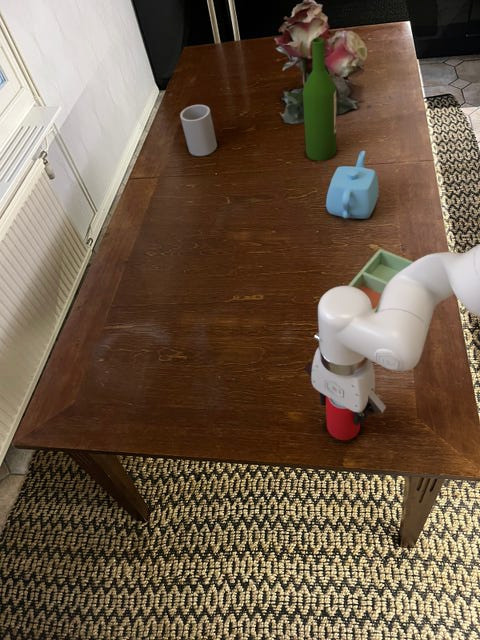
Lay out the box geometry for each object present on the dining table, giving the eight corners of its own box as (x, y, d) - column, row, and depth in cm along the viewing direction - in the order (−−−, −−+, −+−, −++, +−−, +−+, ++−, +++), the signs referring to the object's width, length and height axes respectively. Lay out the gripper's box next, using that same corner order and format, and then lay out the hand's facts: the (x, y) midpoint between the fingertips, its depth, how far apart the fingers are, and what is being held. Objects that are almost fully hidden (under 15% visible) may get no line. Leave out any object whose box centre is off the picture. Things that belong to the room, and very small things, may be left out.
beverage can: (360, 414, 102) (362, 381, 93) (359, 443, 99) (361, 412, 89) (327, 411, 104) (326, 378, 94) (325, 440, 100) (324, 409, 91)
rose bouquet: (373, 107, 169) (378, 5, 146) (285, 128, 169) (276, 30, 146) (348, 71, 185) (349, -25, 162) (267, 90, 185) (257, -3, 162)
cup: (186, 143, 171) (178, 109, 162) (213, 136, 172) (206, 101, 162) (191, 158, 165) (182, 124, 156) (219, 151, 166) (212, 116, 157)
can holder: (413, 276, 122) (416, 262, 119) (374, 326, 115) (375, 313, 111) (378, 262, 127) (379, 248, 123) (338, 309, 119) (338, 295, 116)
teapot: (384, 186, 144) (387, 149, 135) (368, 230, 134) (370, 193, 125) (339, 181, 148) (339, 145, 139) (321, 223, 138) (320, 187, 129)
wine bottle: (339, 157, 155) (340, 43, 130) (309, 163, 155) (304, 51, 130) (332, 141, 161) (331, 29, 136) (303, 147, 161) (296, 36, 136)
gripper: (285, 344, 85) (292, 400, 98) (381, 397, 76) (374, 450, 90) (311, 313, 88) (315, 372, 102) (407, 361, 79) (396, 418, 93)
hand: (343, 408), depth 96 cm, fingers closed on beverage can, 6 cm apart
